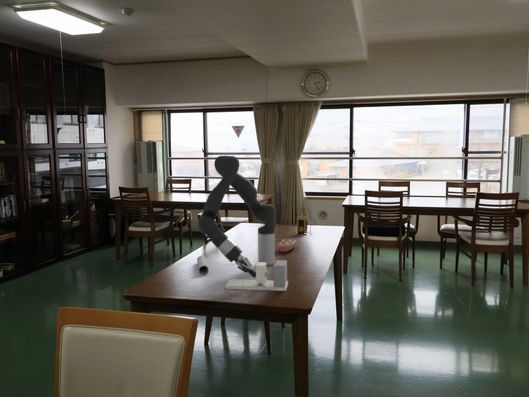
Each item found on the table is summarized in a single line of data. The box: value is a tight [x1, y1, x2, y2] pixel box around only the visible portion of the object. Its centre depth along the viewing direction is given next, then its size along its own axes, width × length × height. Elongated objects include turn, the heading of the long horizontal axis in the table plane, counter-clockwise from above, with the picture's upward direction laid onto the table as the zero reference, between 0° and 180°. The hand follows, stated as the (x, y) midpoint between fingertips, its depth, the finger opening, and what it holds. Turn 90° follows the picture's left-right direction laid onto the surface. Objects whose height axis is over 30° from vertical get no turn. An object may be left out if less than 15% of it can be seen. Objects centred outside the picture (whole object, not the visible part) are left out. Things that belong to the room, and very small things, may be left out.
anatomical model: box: [276, 237, 297, 253], centre depth 281 cm, size 23×10×5 cm, turn 163°
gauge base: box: [224, 259, 289, 292], centre depth 206 cm, size 10×28×12 cm, turn 81°
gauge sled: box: [255, 261, 269, 286], centre depth 205 cm, size 8×5×9 cm, turn 171°
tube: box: [196, 255, 210, 276], centre depth 239 cm, size 5×5×25 cm
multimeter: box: [292, 207, 312, 234], centre depth 333 cm, size 15×10×20 cm
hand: (255, 276), depth 207 cm, fingers closed
